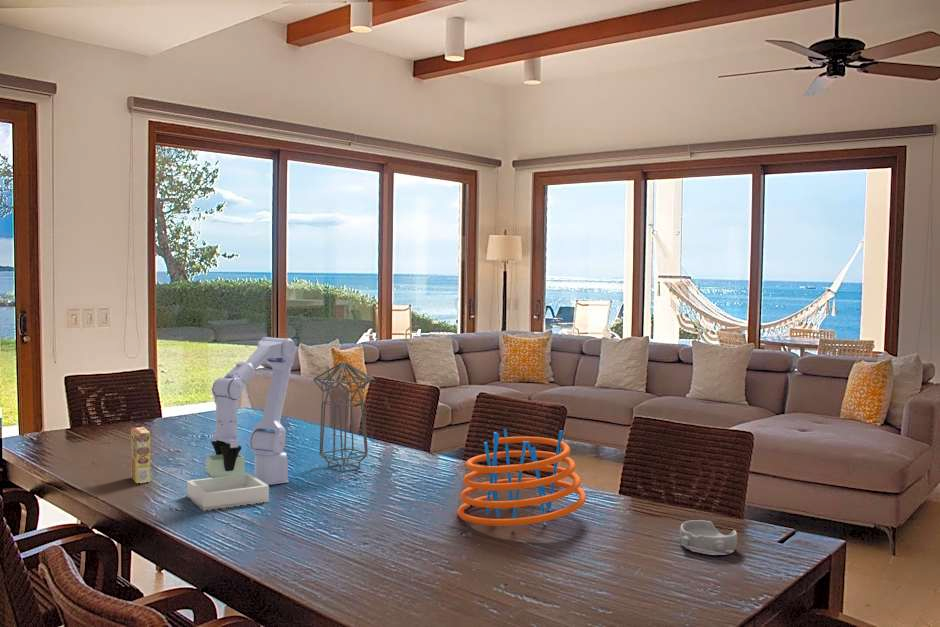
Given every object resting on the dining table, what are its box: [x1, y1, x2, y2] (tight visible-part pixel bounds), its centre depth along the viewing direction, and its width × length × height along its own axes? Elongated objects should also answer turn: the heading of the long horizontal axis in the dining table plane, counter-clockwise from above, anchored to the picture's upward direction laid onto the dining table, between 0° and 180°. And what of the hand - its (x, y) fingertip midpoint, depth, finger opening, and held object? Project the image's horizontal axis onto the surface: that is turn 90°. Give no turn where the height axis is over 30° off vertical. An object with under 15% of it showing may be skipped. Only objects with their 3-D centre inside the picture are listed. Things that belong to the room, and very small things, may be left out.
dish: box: [679, 519, 738, 551], centre depth 200 cm, size 14×14×5 cm
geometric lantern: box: [312, 361, 375, 472], centre depth 268 cm, size 16×16×35 cm
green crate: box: [205, 453, 246, 478], centre depth 229 cm, size 9×6×5 cm, turn 124°
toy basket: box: [457, 428, 587, 527], centre depth 220 cm, size 34×35×24 cm
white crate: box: [186, 472, 270, 512], centre depth 229 cm, size 18×16×4 cm
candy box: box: [130, 426, 151, 485], centre depth 245 cm, size 9×4×15 cm, turn 33°
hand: (225, 468), depth 230 cm, fingers closed on green crate, 6 cm apart
